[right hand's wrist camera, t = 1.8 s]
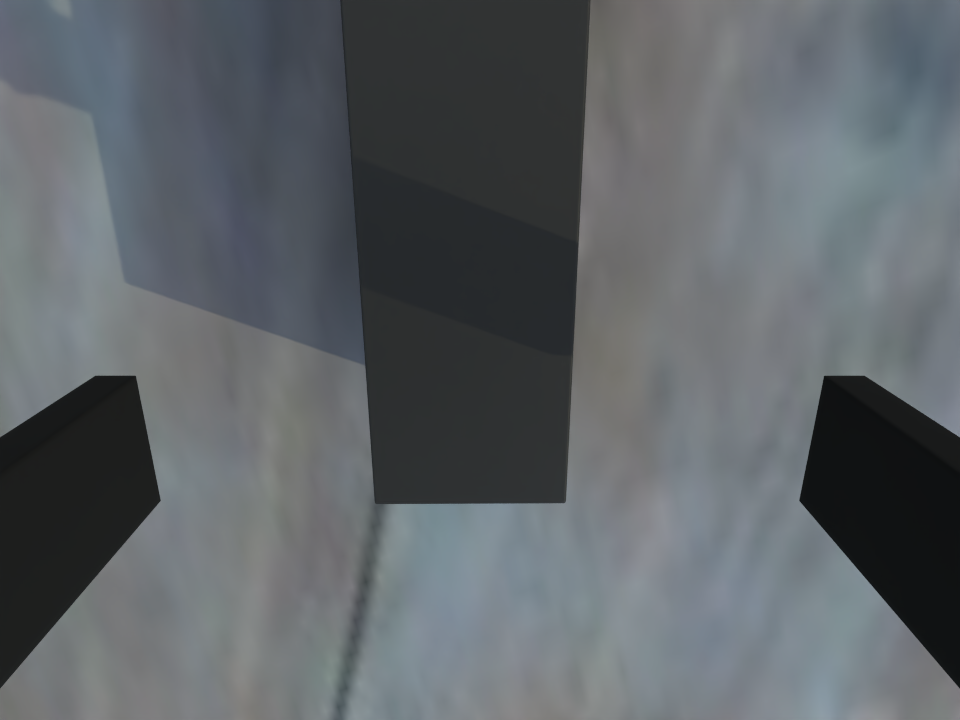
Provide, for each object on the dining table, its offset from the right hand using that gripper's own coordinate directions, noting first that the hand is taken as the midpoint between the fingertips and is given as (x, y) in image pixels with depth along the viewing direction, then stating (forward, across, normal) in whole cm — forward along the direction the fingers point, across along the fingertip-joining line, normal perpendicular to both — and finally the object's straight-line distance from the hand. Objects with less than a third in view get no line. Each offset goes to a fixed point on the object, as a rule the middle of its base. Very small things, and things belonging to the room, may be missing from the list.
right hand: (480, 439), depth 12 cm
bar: (+13, 0, -8) cm, 15 cm away
